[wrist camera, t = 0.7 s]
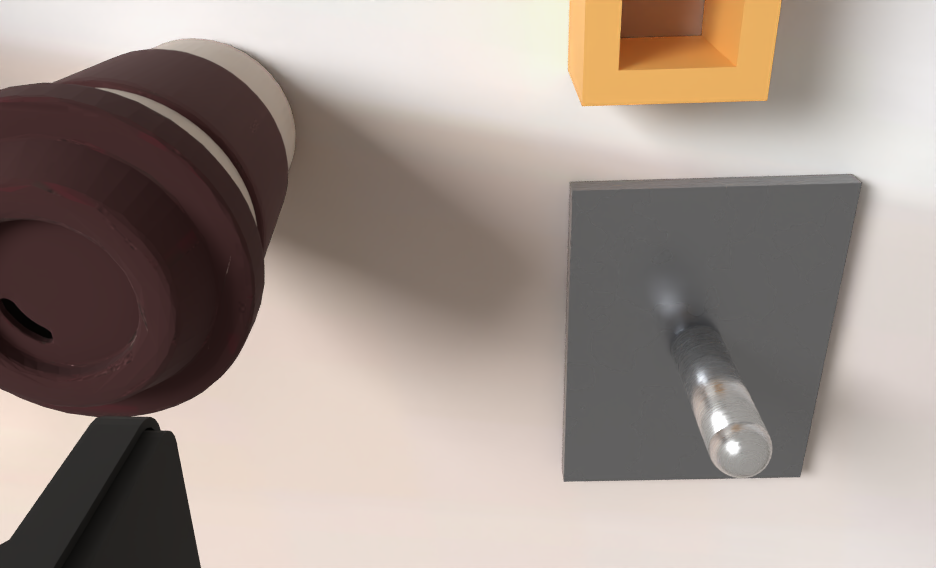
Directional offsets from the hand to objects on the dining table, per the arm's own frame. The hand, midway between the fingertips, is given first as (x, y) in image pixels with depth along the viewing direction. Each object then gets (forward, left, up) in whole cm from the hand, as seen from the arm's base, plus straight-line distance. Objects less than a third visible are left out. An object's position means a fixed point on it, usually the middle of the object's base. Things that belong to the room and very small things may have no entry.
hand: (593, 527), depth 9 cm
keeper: (+14, +8, -26) cm, 31 cm away
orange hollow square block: (-2, +5, -26) cm, 27 cm away
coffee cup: (+3, -13, -27) cm, 30 cm away
